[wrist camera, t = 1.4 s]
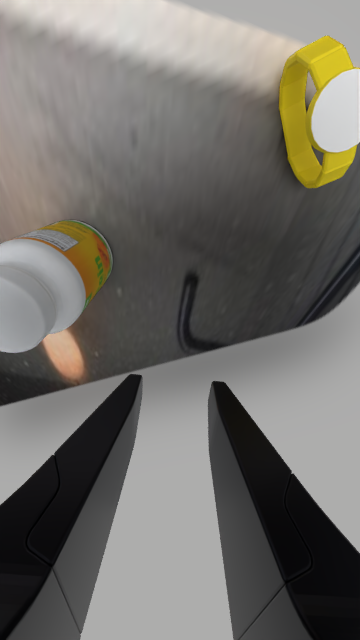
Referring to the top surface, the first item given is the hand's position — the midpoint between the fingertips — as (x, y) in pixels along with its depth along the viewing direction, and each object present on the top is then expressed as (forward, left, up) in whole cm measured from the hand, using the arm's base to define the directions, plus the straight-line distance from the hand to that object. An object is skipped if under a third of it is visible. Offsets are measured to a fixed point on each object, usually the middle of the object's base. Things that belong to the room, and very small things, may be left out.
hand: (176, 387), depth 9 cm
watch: (+9, -6, -13) cm, 17 cm away
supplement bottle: (0, +8, -13) cm, 15 cm away
